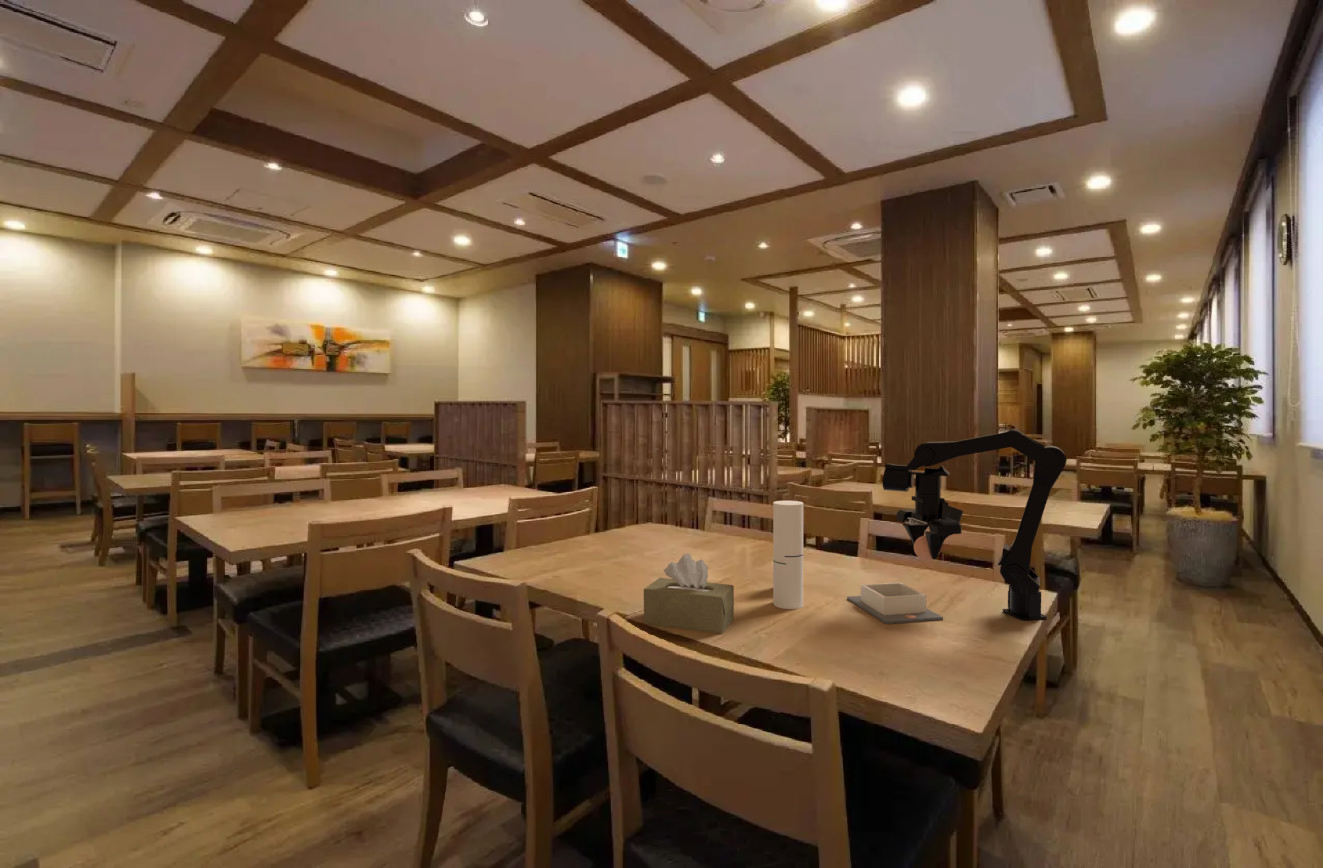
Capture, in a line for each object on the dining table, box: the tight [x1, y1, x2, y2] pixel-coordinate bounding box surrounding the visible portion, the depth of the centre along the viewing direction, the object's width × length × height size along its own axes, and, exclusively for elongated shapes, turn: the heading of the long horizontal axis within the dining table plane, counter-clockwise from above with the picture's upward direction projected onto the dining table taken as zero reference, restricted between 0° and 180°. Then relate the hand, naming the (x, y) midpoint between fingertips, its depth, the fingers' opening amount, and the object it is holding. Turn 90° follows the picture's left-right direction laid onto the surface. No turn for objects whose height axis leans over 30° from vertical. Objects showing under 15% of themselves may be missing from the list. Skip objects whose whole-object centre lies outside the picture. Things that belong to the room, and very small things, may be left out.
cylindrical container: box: [772, 500, 804, 610], centre depth 147 cm, size 7×7×25 cm
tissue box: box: [643, 553, 735, 635], centre depth 136 cm, size 19×10×16 cm, turn 68°
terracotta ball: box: [913, 535, 941, 561], centre depth 149 cm, size 6×6×6 cm
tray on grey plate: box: [846, 581, 944, 625], centre depth 144 cm, size 18×14×5 cm
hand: (926, 555), depth 149 cm, fingers closed on terracotta ball, 6 cm apart
